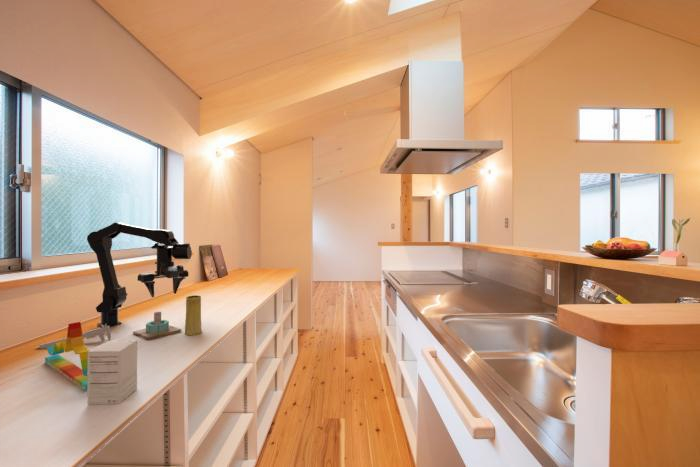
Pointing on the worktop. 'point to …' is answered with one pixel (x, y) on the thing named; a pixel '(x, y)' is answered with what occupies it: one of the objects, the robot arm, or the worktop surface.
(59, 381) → the worktop surface
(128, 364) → the supplement box
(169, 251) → the robot arm
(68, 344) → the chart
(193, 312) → the vase
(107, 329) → the caliper
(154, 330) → the ring
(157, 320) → the post stand
